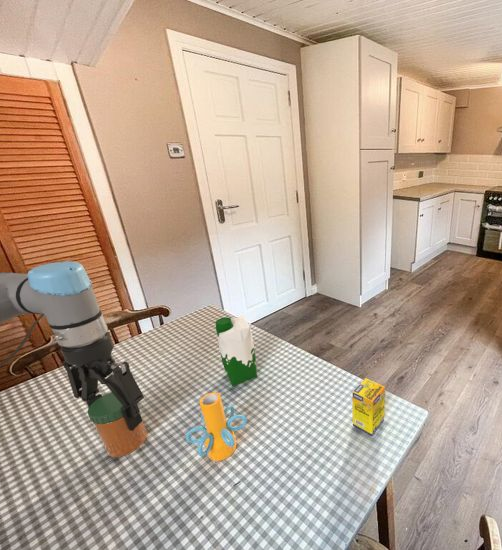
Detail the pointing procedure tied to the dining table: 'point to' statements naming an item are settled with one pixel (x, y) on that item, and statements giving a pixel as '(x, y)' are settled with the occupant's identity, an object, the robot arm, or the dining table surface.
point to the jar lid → (105, 409)
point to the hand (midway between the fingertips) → (119, 422)
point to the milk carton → (236, 349)
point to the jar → (121, 437)
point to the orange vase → (216, 428)
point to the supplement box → (368, 406)
